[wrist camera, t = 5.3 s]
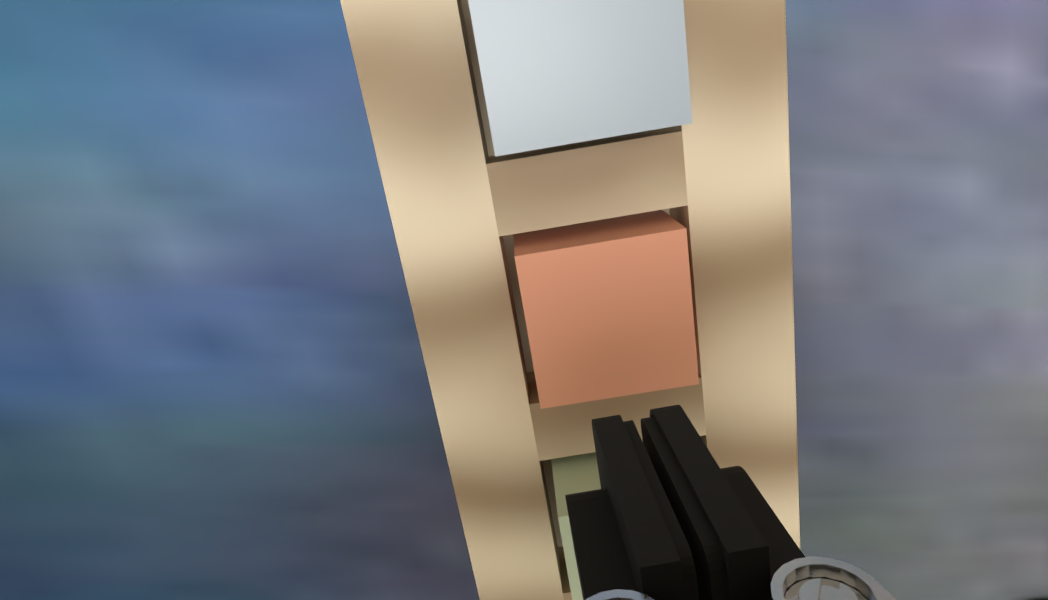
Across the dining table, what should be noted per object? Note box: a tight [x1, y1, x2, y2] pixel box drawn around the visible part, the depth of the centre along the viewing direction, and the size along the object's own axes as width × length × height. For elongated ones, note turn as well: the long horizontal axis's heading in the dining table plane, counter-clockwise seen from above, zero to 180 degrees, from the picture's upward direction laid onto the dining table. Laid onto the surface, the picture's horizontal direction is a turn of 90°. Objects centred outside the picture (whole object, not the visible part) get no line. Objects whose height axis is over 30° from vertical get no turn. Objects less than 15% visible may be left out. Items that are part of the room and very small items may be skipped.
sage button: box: [551, 452, 601, 600], centre depth 22 cm, size 5×5×4 cm
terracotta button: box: [514, 210, 699, 409], centre depth 20 cm, size 5×5×4 cm
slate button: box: [468, 0, 692, 156], centre depth 17 cm, size 5×5×4 cm
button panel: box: [340, 0, 800, 600], centre depth 21 cm, size 24×12×4 cm, turn 9°
